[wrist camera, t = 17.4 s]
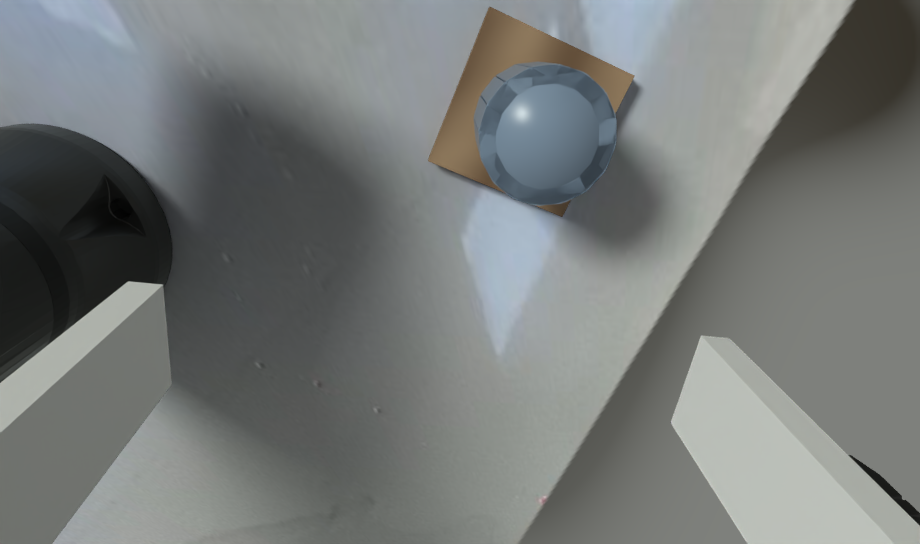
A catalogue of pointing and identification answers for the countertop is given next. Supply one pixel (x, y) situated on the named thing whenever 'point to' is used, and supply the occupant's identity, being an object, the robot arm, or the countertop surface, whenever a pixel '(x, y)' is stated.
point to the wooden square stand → (490, 56)
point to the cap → (544, 132)
